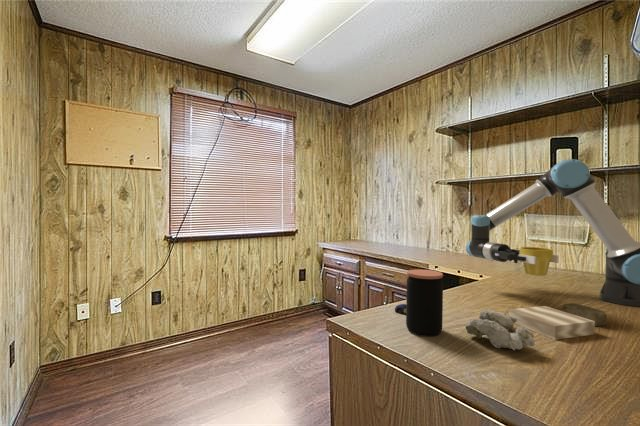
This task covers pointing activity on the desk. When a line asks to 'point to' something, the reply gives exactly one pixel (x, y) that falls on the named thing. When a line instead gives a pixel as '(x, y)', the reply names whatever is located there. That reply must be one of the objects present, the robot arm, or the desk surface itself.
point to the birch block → (552, 322)
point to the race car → (401, 309)
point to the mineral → (500, 330)
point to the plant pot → (537, 260)
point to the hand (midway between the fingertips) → (546, 259)
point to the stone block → (586, 313)
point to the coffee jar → (424, 302)
